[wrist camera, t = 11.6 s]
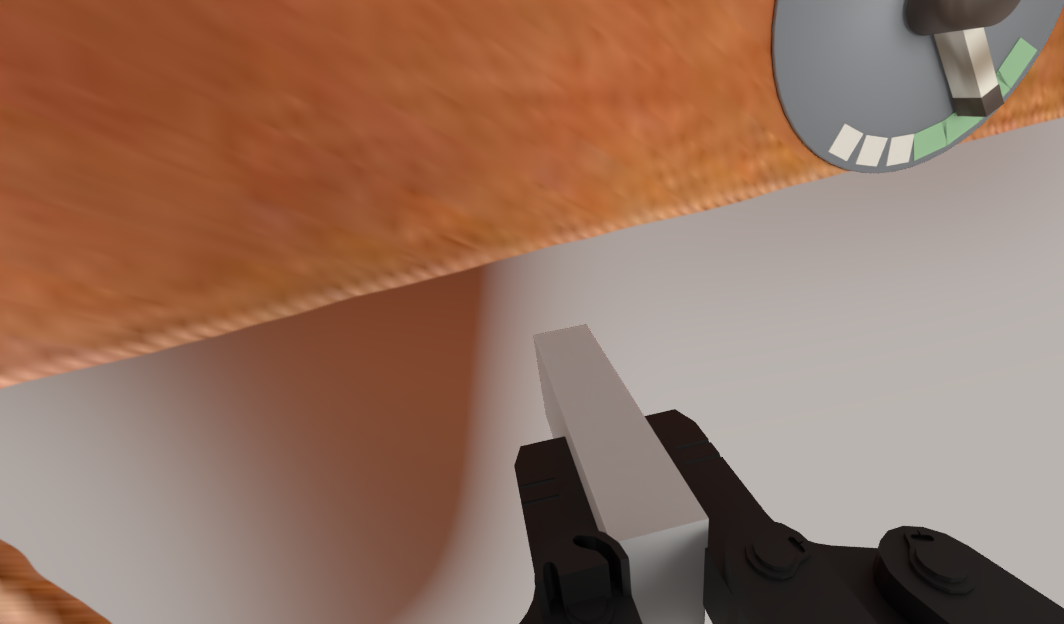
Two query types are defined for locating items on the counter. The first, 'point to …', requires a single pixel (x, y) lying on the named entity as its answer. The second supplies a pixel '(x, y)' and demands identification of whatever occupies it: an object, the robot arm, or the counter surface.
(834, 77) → the dial
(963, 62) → the needle
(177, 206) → the counter surface
